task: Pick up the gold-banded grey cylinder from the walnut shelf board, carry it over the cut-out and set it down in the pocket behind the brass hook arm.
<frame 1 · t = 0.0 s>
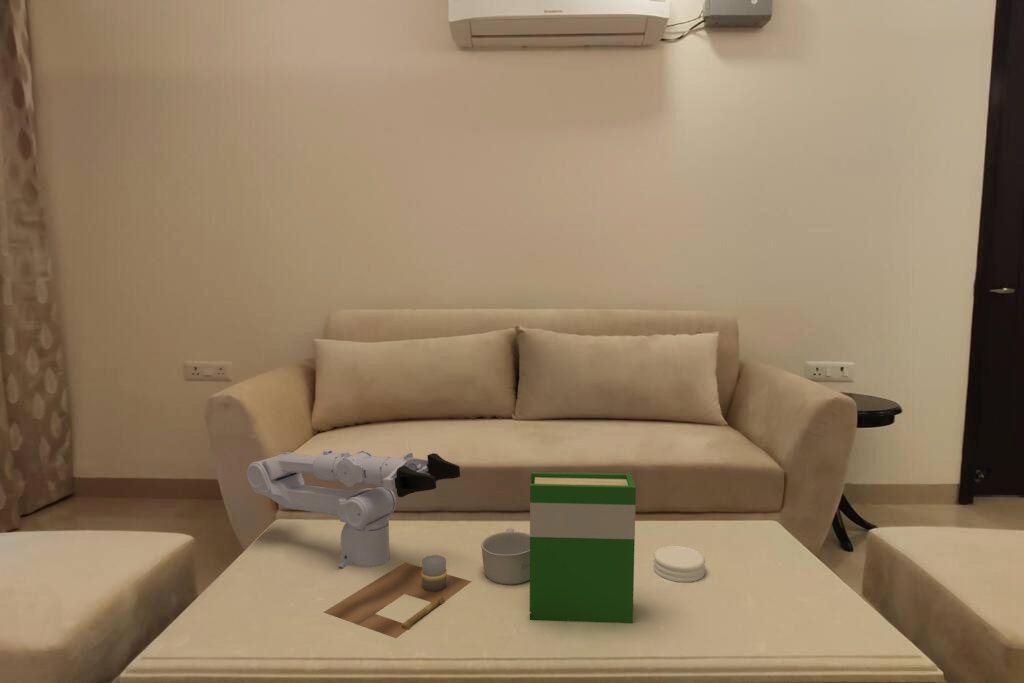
hand: (447, 477, 122), 22 cm above the table, tool horizontal, fingers open, 7 cm apart
shelf board: (401, 603, 118), on the table
hardback book: (579, 611, 116), on the table
teacup: (510, 577, 129), on the table
gold-banded grey cylinder: (434, 586, 122), point 1 cm above the table, touching shelf board
stack of white coasters: (678, 572, 131), on the table
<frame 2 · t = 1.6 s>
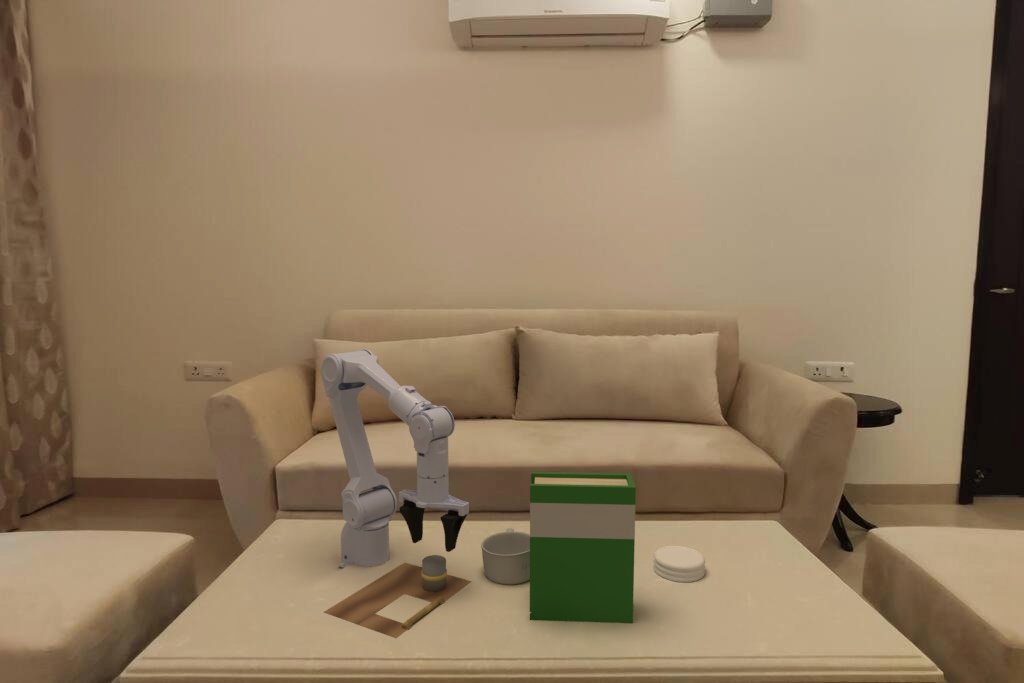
hand: (433, 545, 121), 9 cm above the table, tool pointing down, fingers open, 7 cm apart
nothing on the table moved.
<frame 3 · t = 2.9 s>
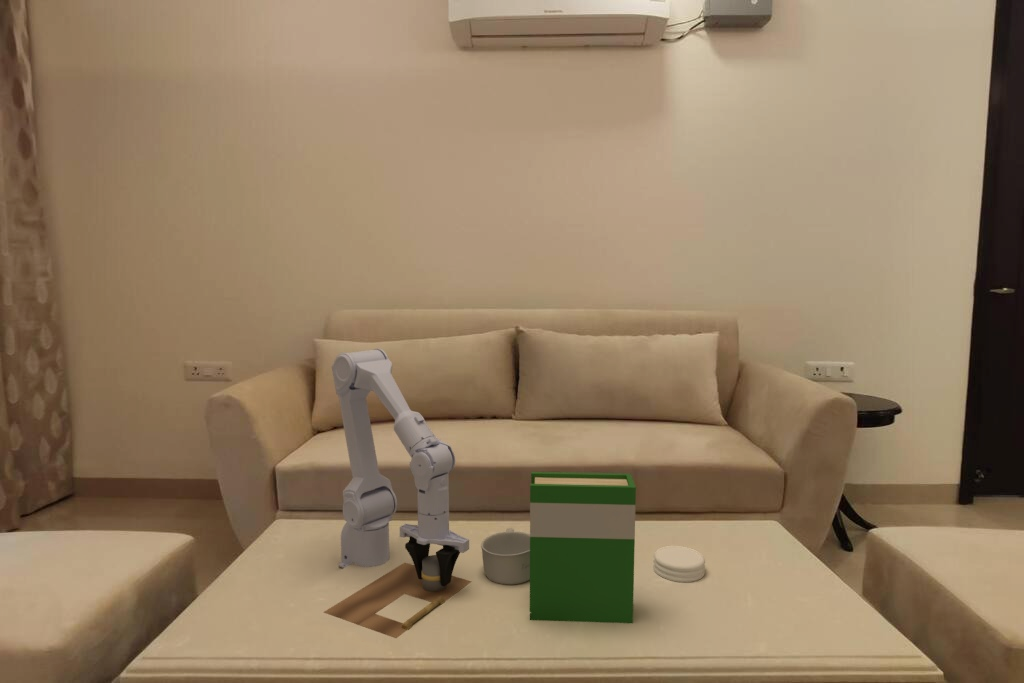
hand: (434, 580, 122), 3 cm above the table, tool pointing down, fingers closed on gold-banded grey cylinder, 5 cm apart
gold-banded grey cylinder: (434, 585, 122), point 2 cm above the table, touching gripper, shelf board
everything else where it was.
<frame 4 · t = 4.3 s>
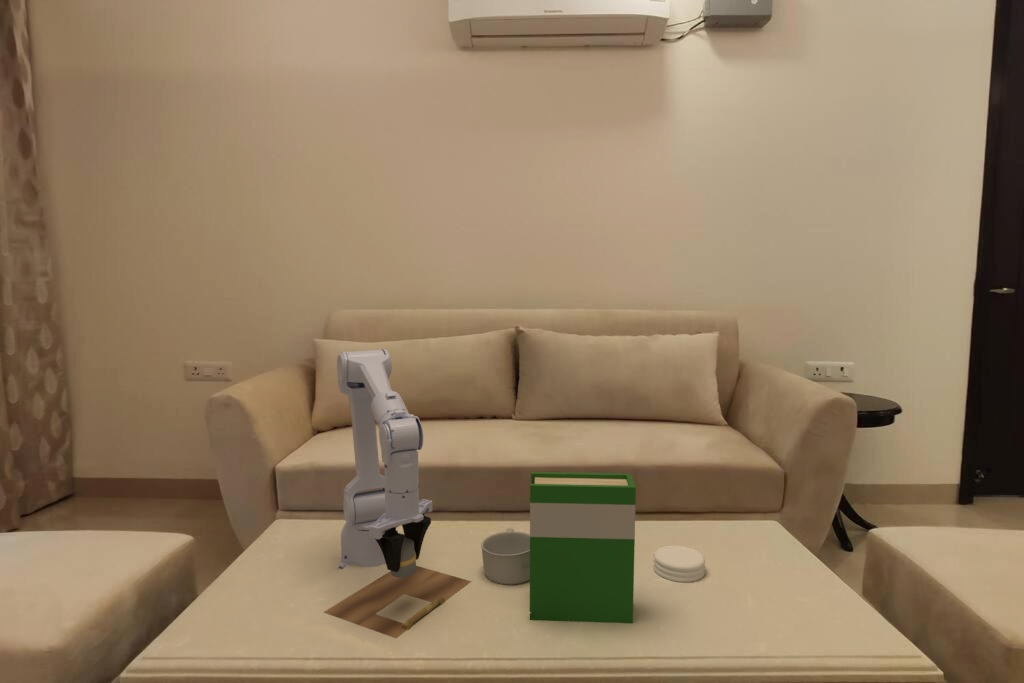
hand: (403, 563, 113), 9 cm above the table, tool pointing down, fingers closed on gold-banded grey cylinder, 5 cm apart
gold-banded grey cylinder: (403, 570, 114), point 8 cm above the table, tilted 6°, touching gripper
everything else where it was.
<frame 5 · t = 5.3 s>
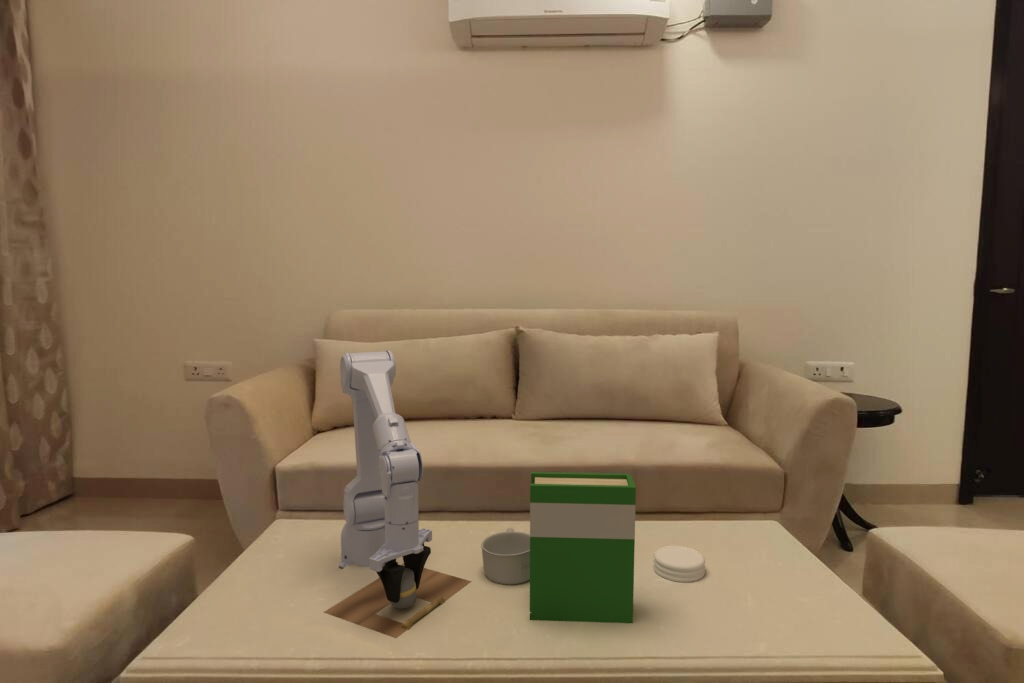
hand: (403, 594, 114), 4 cm above the table, tool pointing down, fingers closed on gold-banded grey cylinder, 5 cm apart
gold-banded grey cylinder: (403, 600, 114), point 3 cm above the table, tilted 6°, touching gripper
everything else where it was.
when the fingers open (3 cm above the table, at t = 6.0 s): gold-banded grey cylinder drops 2 cm, resting in shelf board.
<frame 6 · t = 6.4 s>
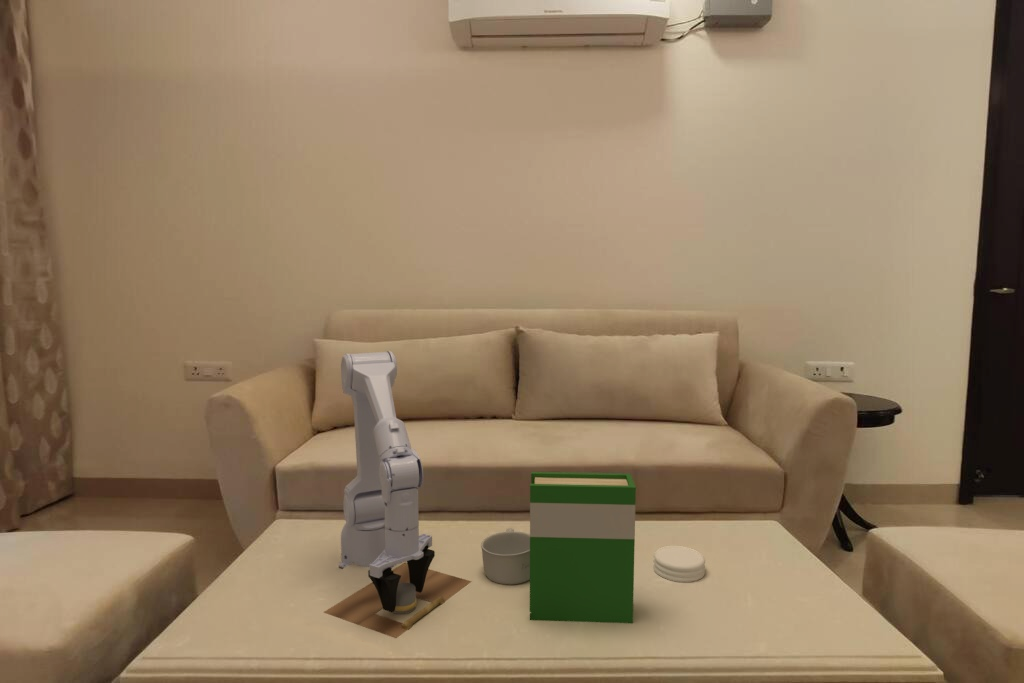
hand: (403, 600, 114), 3 cm above the table, tool pointing down, fingers open, 7 cm apart
gold-banded grey cylinder: (403, 615, 114), resting in shelf board
everything else where it was.
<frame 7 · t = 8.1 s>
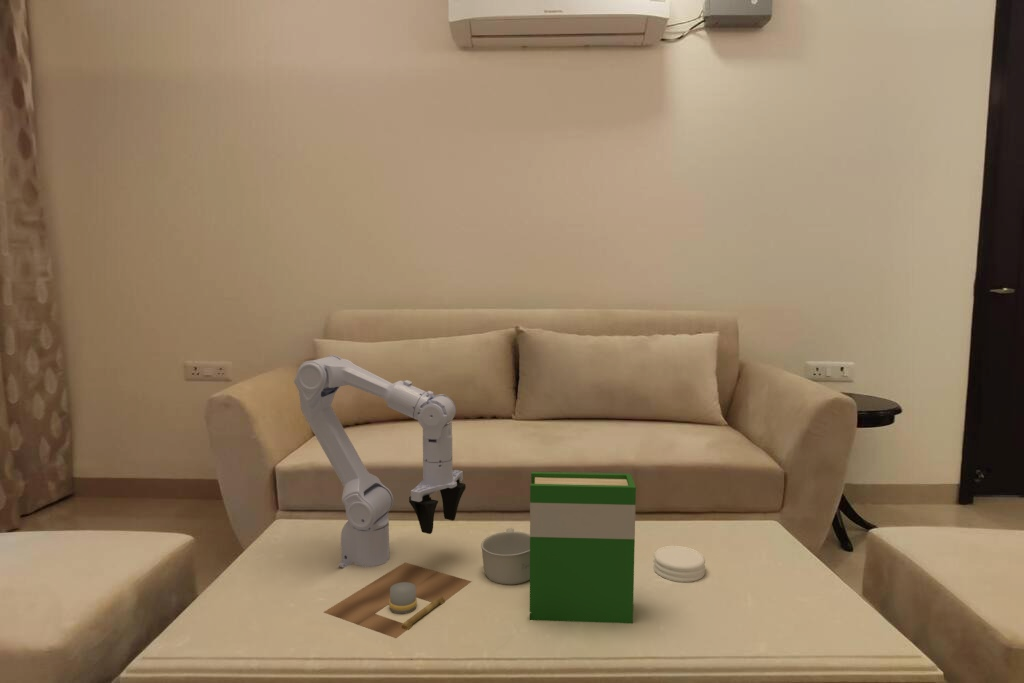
hand: (438, 525, 129), 10 cm above the table, tool pointing down, fingers open, 7 cm apart
nothing on the table moved.
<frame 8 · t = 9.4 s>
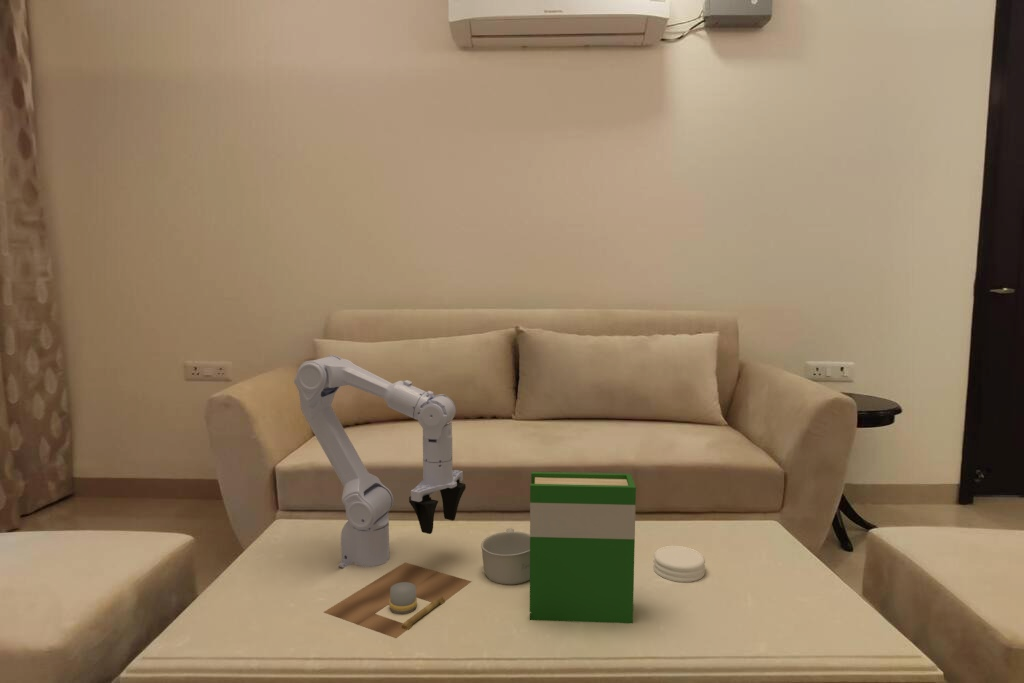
hand: (438, 525, 129), 10 cm above the table, tool pointing down, fingers open, 7 cm apart
nothing on the table moved.
at the end: gold-banded grey cylinder 0.7 cm from the target spot, resting in shelf board; gold-banded grey cylinder tilted 1°; the gripper is holding nothing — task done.
